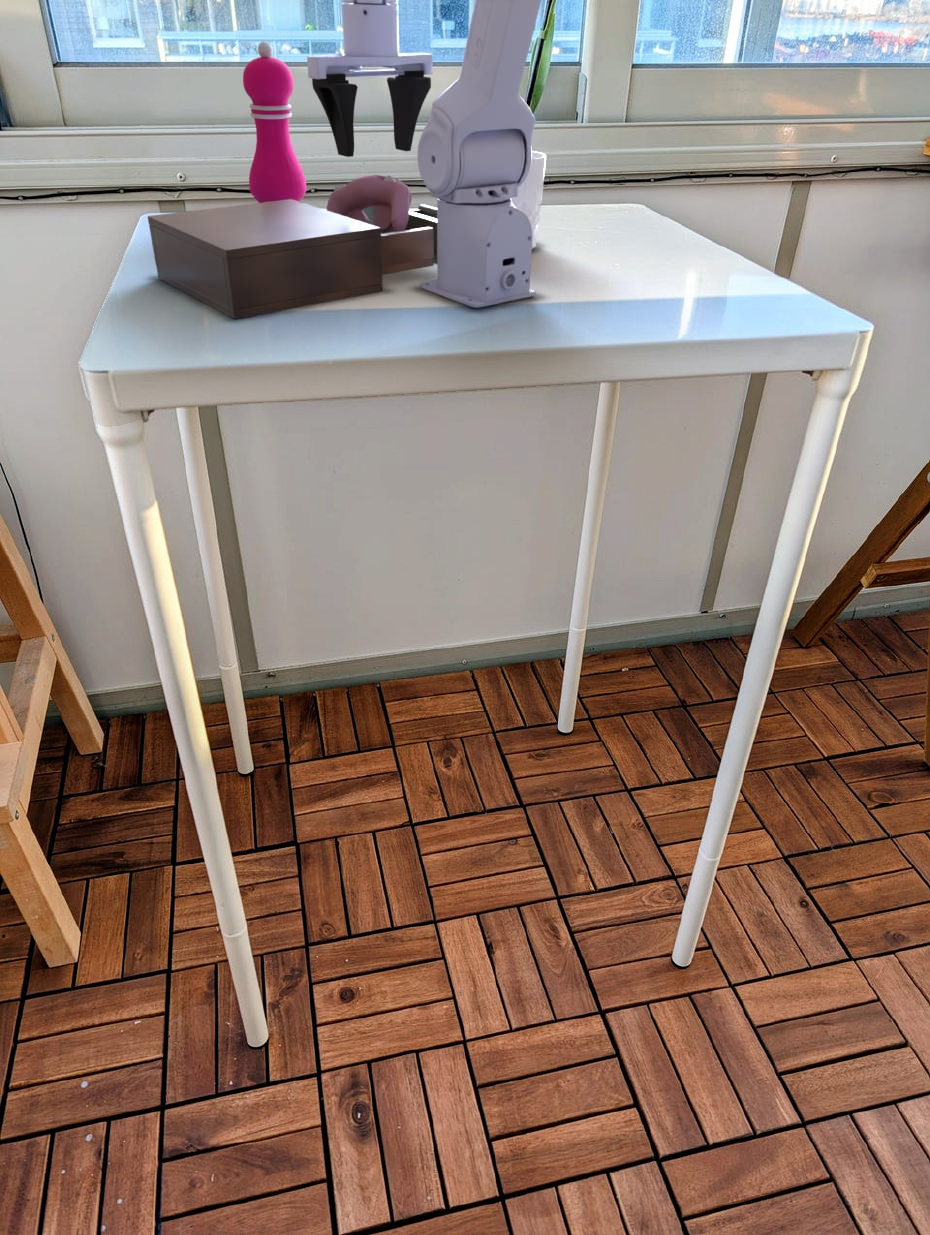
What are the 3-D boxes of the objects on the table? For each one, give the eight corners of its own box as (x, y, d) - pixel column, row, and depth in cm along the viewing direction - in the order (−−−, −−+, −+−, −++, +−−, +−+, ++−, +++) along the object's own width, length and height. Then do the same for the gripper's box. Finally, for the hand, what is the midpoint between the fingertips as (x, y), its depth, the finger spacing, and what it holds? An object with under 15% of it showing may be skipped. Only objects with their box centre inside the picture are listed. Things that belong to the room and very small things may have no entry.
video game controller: (418, 242, 99) (415, 175, 98) (401, 230, 95) (398, 160, 94) (338, 253, 103) (335, 189, 102) (318, 242, 98) (315, 175, 98)
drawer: (404, 233, 110) (403, 195, 108) (489, 260, 100) (491, 219, 97) (254, 256, 100) (250, 214, 97) (333, 289, 89) (330, 243, 87)
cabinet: (296, 256, 103) (291, 198, 100) (383, 291, 92) (381, 227, 89) (157, 278, 95) (147, 216, 91) (234, 319, 84) (225, 250, 80)
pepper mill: (297, 229, 115) (282, 43, 103) (244, 226, 116) (223, 41, 104) (316, 218, 121) (304, 41, 109) (265, 215, 122) (247, 39, 110)
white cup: (541, 240, 112) (546, 150, 106) (539, 255, 106) (545, 160, 100) (478, 237, 113) (480, 148, 107) (472, 252, 106) (474, 158, 101)
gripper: (405, 3, 98) (407, 143, 106) (287, 2, 91) (299, 153, 98) (444, 5, 94) (443, 151, 101) (324, 4, 86) (333, 162, 94)
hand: (375, 152), depth 100 cm, fingers open, 7 cm apart
